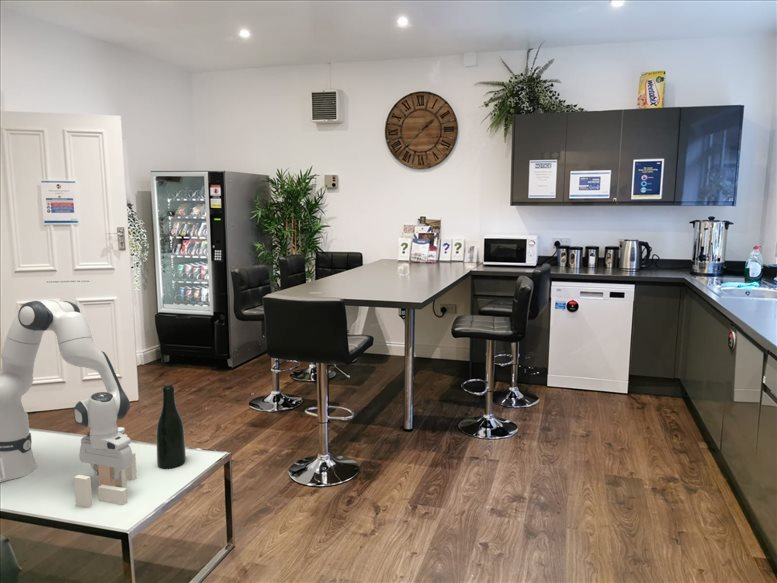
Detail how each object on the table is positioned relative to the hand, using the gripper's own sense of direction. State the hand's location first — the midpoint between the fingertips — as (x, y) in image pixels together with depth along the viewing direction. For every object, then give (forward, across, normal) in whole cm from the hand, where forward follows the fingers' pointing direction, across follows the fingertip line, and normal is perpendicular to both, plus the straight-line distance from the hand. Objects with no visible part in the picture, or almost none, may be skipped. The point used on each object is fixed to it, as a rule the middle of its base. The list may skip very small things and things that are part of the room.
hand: (106, 476), depth 205 cm
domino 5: (+5, 0, +10) cm, 12 cm away
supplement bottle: (+6, -16, +23) cm, 28 cm away
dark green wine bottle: (+6, +7, +25) cm, 27 cm away
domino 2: (+5, 0, 0) cm, 5 cm away
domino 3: (+3, +2, -5) cm, 7 cm away
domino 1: (+5, 0, -10) cm, 12 cm away
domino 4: (+5, 0, +5) cm, 7 cm away
